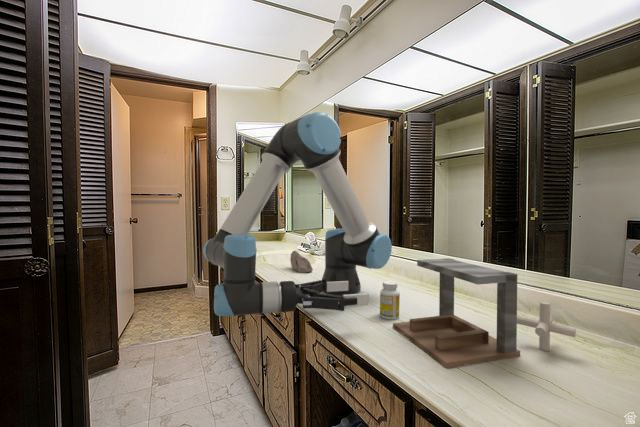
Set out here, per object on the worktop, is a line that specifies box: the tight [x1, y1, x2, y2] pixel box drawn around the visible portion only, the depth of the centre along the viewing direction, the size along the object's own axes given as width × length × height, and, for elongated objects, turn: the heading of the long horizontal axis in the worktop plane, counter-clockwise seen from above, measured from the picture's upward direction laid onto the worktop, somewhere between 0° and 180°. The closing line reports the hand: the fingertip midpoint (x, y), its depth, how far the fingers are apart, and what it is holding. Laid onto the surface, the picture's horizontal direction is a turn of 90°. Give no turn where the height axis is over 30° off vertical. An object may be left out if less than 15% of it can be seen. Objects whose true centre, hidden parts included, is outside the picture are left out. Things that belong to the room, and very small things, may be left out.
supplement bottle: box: [379, 280, 401, 320], centre depth 82 cm, size 5×5×10 cm
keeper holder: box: [392, 257, 521, 369], centre depth 67 cm, size 20×18×17 cm
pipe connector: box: [517, 301, 577, 352], centre depth 63 cm, size 10×10×10 cm
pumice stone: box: [289, 250, 314, 274], centre depth 143 cm, size 15×8×10 cm, turn 27°
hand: (357, 291), depth 79 cm, fingers open, 13 cm apart
